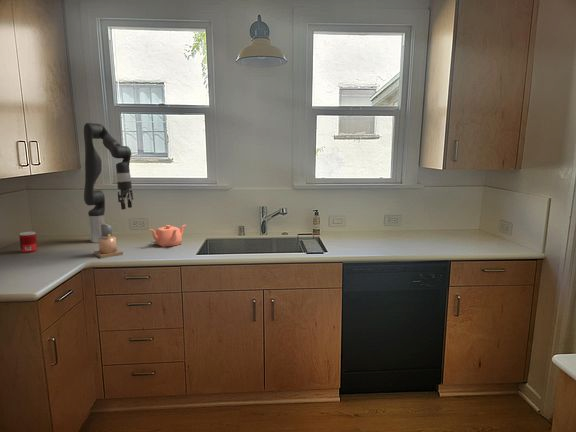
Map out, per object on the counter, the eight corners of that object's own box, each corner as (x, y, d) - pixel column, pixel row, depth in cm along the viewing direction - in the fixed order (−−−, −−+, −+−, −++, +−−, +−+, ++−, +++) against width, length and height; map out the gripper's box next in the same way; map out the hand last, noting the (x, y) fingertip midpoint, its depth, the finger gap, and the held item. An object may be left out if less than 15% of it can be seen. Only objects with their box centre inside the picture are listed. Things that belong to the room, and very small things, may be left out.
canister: (93, 253, 217) (92, 233, 215) (115, 250, 225) (113, 230, 223) (100, 258, 209) (99, 237, 206) (122, 254, 217) (121, 234, 215)
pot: (176, 248, 231) (175, 228, 229) (149, 247, 233) (148, 227, 231) (187, 241, 249) (186, 223, 247) (161, 240, 251) (161, 222, 249)
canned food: (40, 250, 223) (38, 232, 221) (27, 253, 215) (25, 235, 214) (31, 249, 225) (29, 231, 223) (18, 252, 218) (15, 233, 216)
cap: (100, 235, 215) (99, 224, 214) (110, 233, 219) (109, 223, 218) (104, 237, 210) (103, 226, 209) (114, 235, 214) (114, 225, 213)
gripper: (123, 180, 226) (125, 207, 228) (111, 181, 211) (114, 210, 214) (135, 180, 225) (138, 206, 228) (125, 181, 211) (127, 209, 213)
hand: (126, 208), depth 221 cm, fingers open, 8 cm apart
